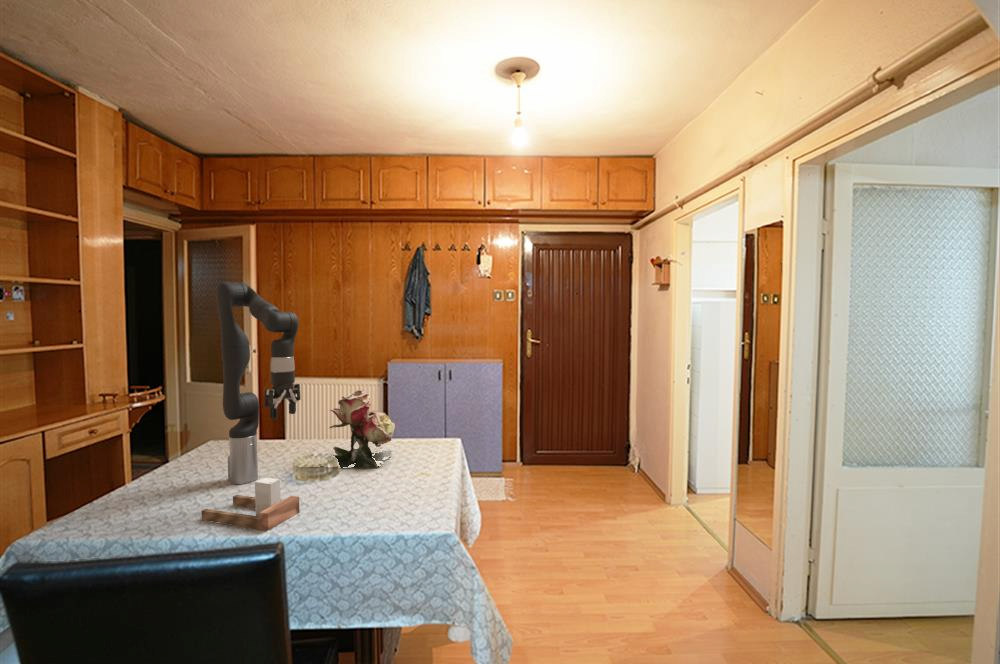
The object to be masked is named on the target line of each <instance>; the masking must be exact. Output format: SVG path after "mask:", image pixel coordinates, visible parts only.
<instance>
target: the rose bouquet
mask: <svg viewBox="0 0 1000 664" xmlns="http://www.w3.org/2000/svg"><path fill="white" fill-rule="evenodd" d="M369 395H370V394H369V393H366V391H365V390H360V389H359V390H357V391H353V393H350V394H348V396H347V397H345V396H342V397H341V399H339V400H338V403H337V404H338V405H339V408H337V407H335V408H333V409H329V412H333V414H334V415H335V416H336V417H337V419H338V421H340V422H341V423H340V424H333V425H332V426H329V428H328V429H333V428H343V427H347V426H349V427H350V433H351V435H350V436H351V437H350V450H348V449H345V448H340V447H339V446H334V447H332V449H333V450H334V453H335V454H332V455H333V456H335V457H336V458H337V459H338V462H339V465H340V467H341V468H343V467H348V466H349V465H351V464H354V463H356V464H355V466H354V468H353V469H356V468H359V469H369V468H370V469H371V467H372V468H375V467H377V468H379V467H378V466H377V464H376V462H375V460H376V461H382V459H383V458H384V457H388V456H390V455H391V456H392V450H390V449H389V450H382V445H384V444H387V443H389V442H391V441H392V437H393V436H394V432H395V429H396V423H395V422H392V420H391V419H390V416H389V415H387V414H386V412H380V411H379V410H376V409H375V410H374V409H370V408H371V404H372V403H370V399H371V396H369ZM320 436H321V435H319V437H320ZM369 443H372V445H374V447H375V446H376V448H380V450H381V451H382V452H379V453H375V455H374V456H372V454H374V453H372V452H373V451H372V449H371V448H370V447H369ZM355 444H358V445H359V446H358V448H354V447H355ZM372 457H373V458H375V460H374V459H373V458H372ZM343 469H344V468H343Z"/></svg>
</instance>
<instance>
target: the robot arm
mask: <svg viewBox="0 0 1000 664" xmlns="http://www.w3.org/2000/svg"><path fill="white" fill-rule="evenodd" d="M215 298H216V299H215V300H216V306H217V312H218V318H219V325H220V326H219V328H220V340H221V341H220V345H221V358H222V371H223V372H222V373H223V383H222V384H223V385H222V386H223V388H222V389H223V390H222V391H223V392H222V409H223V414H224V415H225V417H226V418H227V419H228V420H230V421H235V420H239V421H238V422H237V423H236V424H235V425H233V427H230V429H228V430H229V432H228V438H229V439H228V440H229V441H228V442H229V455H228V456H227V480H228V482H229V481H230V484H232V483H233V484H232V485H242V484H243V485H244V484H249V483H253V482H256V481H257V479H258V478H259V475H258V474H259V471H258V468H259V467H258V466H259V465H258V464H259V463H258V435H257V434H258V428H259V426H260V425H259V424H260V423H259V422H260V421H259V420H260V419H259V418H260V402H259V399H258V395H256V394H255V393H253V392H251V391H248V392H241V391H240V390H241V388H240V386H241V381H242V379H243V375H244V373H245V372H246V369H247V368H248V366H249V363H250V360H251V349H250V348H251V347H250V341H249V339H248V336H247V335H246V333H245V332H244V331H243V330H242V328H241V327H240V325H239V324H238V322H237V321H236V319H235V316H234V313H233V308H243V307H247V308H248V309H249V313H250V315H251V316H252V317H253V318H255V319H256V320H258V321H259V322H261V323H262V325H263V326H264V328H265V329H266V330H267V331H268V332H270V333H274V334H275V333H282V336H281V337H280V338H277V339H273V340H272V342H271V343H270V357H271V358H270V384H271V385H272V389H271V388H270V389H269V388H268V389H267V388H266V389H264V404H263V406H264V408H269V417H270V419H271V420H277V419H278V418H279V417H278V406H279V404H280V403H281V402H282V400H285V399H286V400H287V402H288V414H290V415H294V414H296V412H297V411H296V410H297V402H298V401H300V400H301V387H300V383H295V381H296V375H295V372H296V371H295V370H296V367H295V358H294V345H295V340H296V337H297V332H298V330H299V325H300V324H299V323H300V322H299V321H300V320H299V317H298V316H297V314H296V313H294V312H292V311H280V310H279V308H278V307H277V306H275V305H274V304H272V303H270V302H268V301H266V300H265V299H264V298H262V297H261V296H260V295H259V294H258V292H256V291H255V290H254V289H253V288H252V287H251V286H250V285H248V284H247V283H244V282H232V281H231V282H230V281H222V282H219V283H218V284H217V285H216V290H215ZM240 392H241V393H240ZM258 480H259V479H258Z"/></svg>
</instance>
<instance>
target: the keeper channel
mask: <svg viewBox="0 0 1000 664" xmlns="http://www.w3.org/2000/svg"><path fill="white" fill-rule="evenodd" d="M233 505H236V506H235V507H240V506H243V507H242V508H247V507H249V509H255V508H256V506H255V496H248V495H241V494H240V495H239V494H236V495H233V496H232V506H233ZM200 512H201V513H200V514H201V521H202V520H206V521H205V522H209V521H213V522H212V523H215V522H220V523H219V524H222V523H226V524H225V525H228V524H231V525H230V526H235V525H237V527H242V526H244V527H243V528H248V527H249V528H248V529H256V530H262V531H268V530H269V531H270V530H272V529H273V527H274V528H275V527H277V526H279V525H280V524H282V523H284V522H285V521H287V520H290V519H291V518H292V517H294V516H295V515H297V514H299V513H300V496H298V495H295V496H294V495H291V496H288V497H286V498H284V499H283V500H281V502H279V503H277V504H275V505H273V506H271V507H269V508H267V509H265V510H264V511H262V512H260V517H259V516H256V515H252V514H246V513H245V514H244V513H238V512H231V511H223V510H218V509H217V510H216V509H211V508H205V509H202V510H201V511H200ZM278 524H279V525H278Z"/></svg>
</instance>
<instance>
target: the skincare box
mask: <svg viewBox="0 0 1000 664" xmlns="http://www.w3.org/2000/svg"><path fill="white" fill-rule="evenodd" d="M254 494H255V495H254V497H255V506H256V509H255V516H259V517H260V512H262V511H264V510H265V509H267V508H269V507H271V506H273V505H275V504H277V503H279V502H281V501H282V500H281V479H279V478H270V477H263V478H261V479H258V480H255V481H254Z"/></svg>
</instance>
